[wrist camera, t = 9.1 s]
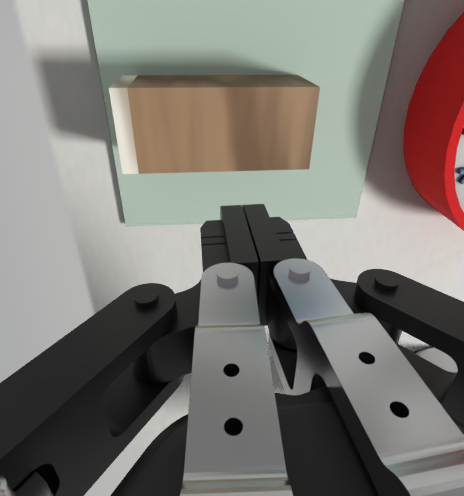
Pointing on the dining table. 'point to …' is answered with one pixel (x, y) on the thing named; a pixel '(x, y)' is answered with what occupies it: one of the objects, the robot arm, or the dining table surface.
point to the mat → (256, 63)
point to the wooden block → (213, 122)
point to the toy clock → (439, 128)
